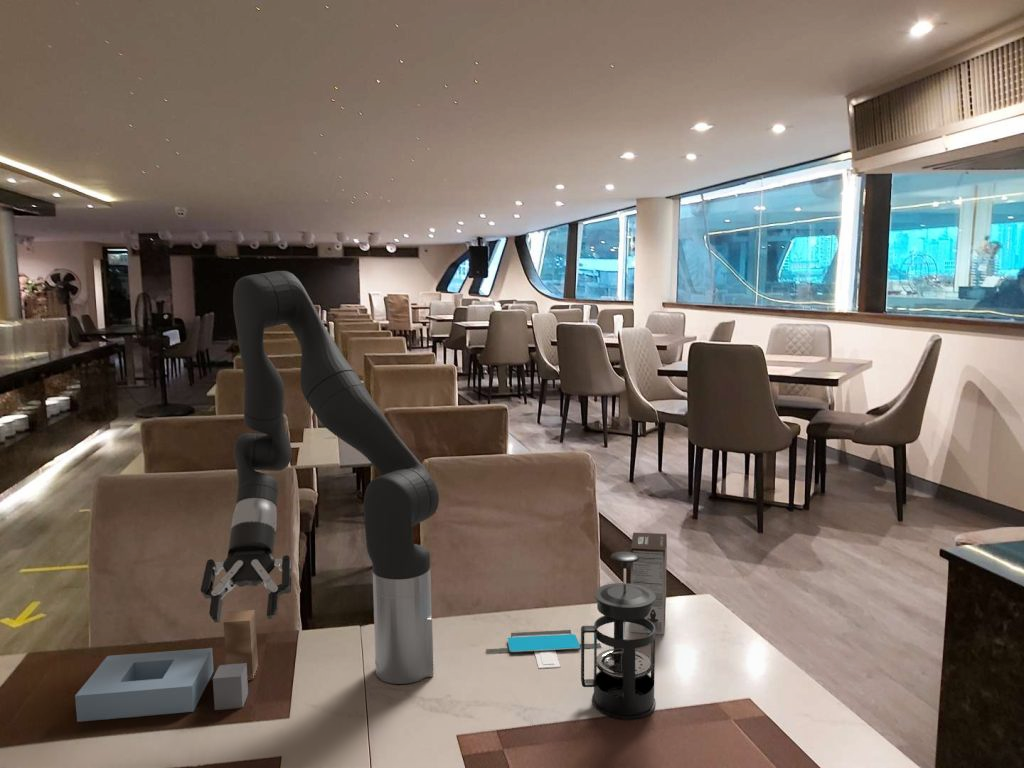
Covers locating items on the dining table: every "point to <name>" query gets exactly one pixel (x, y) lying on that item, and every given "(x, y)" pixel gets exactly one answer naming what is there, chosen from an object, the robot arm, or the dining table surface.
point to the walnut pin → (241, 640)
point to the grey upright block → (230, 686)
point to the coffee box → (651, 576)
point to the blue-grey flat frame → (145, 684)
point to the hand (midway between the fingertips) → (243, 619)
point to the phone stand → (542, 645)
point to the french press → (622, 649)
